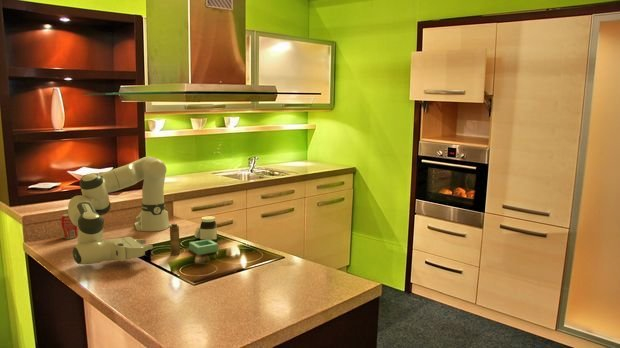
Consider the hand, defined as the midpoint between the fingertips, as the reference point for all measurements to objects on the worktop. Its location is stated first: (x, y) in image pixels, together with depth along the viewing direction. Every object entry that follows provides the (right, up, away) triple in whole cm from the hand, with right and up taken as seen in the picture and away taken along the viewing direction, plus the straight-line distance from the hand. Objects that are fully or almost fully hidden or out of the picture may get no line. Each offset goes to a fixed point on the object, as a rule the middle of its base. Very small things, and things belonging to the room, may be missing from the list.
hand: (148, 243), depth 216 cm
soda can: (-51, -2, +33) cm, 61 cm away
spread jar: (+18, -3, +31) cm, 36 cm away
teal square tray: (+21, -5, +14) cm, 26 cm away
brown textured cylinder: (+10, -6, +8) cm, 14 cm away
